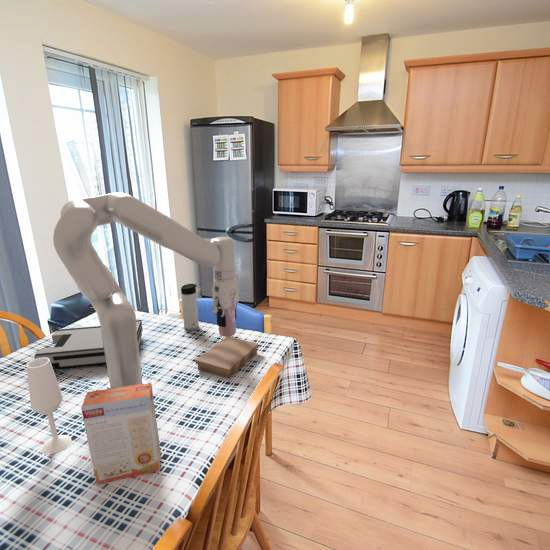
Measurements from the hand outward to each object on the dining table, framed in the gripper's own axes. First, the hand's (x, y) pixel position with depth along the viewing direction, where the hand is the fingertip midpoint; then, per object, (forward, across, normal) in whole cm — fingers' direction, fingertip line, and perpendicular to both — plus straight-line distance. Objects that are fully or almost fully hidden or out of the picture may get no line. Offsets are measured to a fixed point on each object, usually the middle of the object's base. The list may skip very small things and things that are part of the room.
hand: (227, 322), depth 127 cm
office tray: (+16, -18, +49) cm, 54 cm away
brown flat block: (+16, 0, 0) cm, 16 cm away
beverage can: (+5, 0, 0) cm, 5 cm away
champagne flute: (+15, -54, +17) cm, 59 cm away
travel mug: (+16, +16, +30) cm, 37 cm away
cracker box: (+16, -51, -6) cm, 54 cm away
